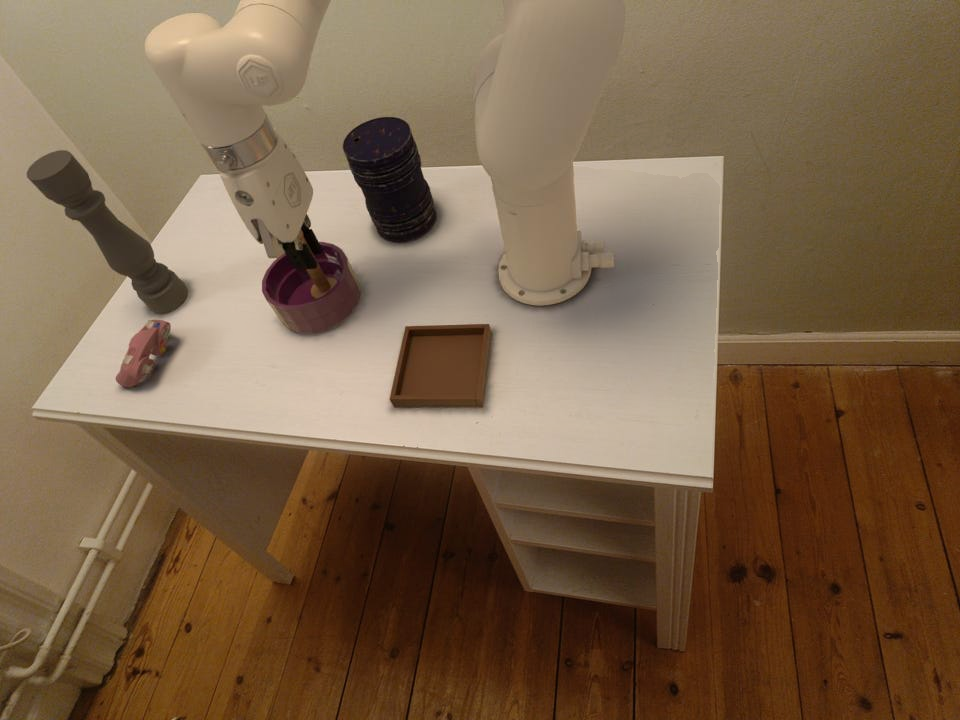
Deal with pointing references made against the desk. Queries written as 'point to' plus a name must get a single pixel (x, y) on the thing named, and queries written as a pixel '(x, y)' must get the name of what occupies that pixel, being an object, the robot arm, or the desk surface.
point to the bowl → (294, 297)
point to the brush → (318, 276)
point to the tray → (442, 367)
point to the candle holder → (107, 230)
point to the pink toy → (143, 352)
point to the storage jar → (391, 178)
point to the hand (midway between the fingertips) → (309, 259)
